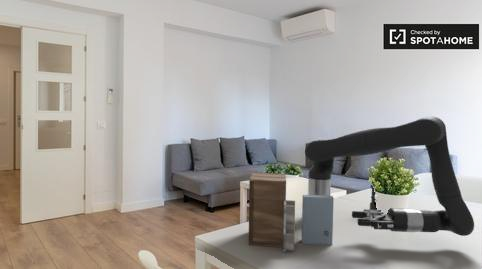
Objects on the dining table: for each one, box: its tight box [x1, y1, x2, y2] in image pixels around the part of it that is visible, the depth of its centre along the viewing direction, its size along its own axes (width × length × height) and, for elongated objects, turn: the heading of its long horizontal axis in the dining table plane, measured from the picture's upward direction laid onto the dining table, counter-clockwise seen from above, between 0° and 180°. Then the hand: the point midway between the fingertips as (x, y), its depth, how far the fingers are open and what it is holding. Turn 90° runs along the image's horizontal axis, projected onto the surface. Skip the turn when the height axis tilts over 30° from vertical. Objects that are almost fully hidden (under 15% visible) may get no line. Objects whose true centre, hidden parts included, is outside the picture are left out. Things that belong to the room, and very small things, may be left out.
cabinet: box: [248, 172, 296, 252], centre depth 116 cm, size 19×15×22 cm
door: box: [301, 194, 335, 246], centre depth 115 cm, size 4×10×16 cm, turn 84°
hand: (354, 218), depth 114 cm, fingers open, 8 cm apart
